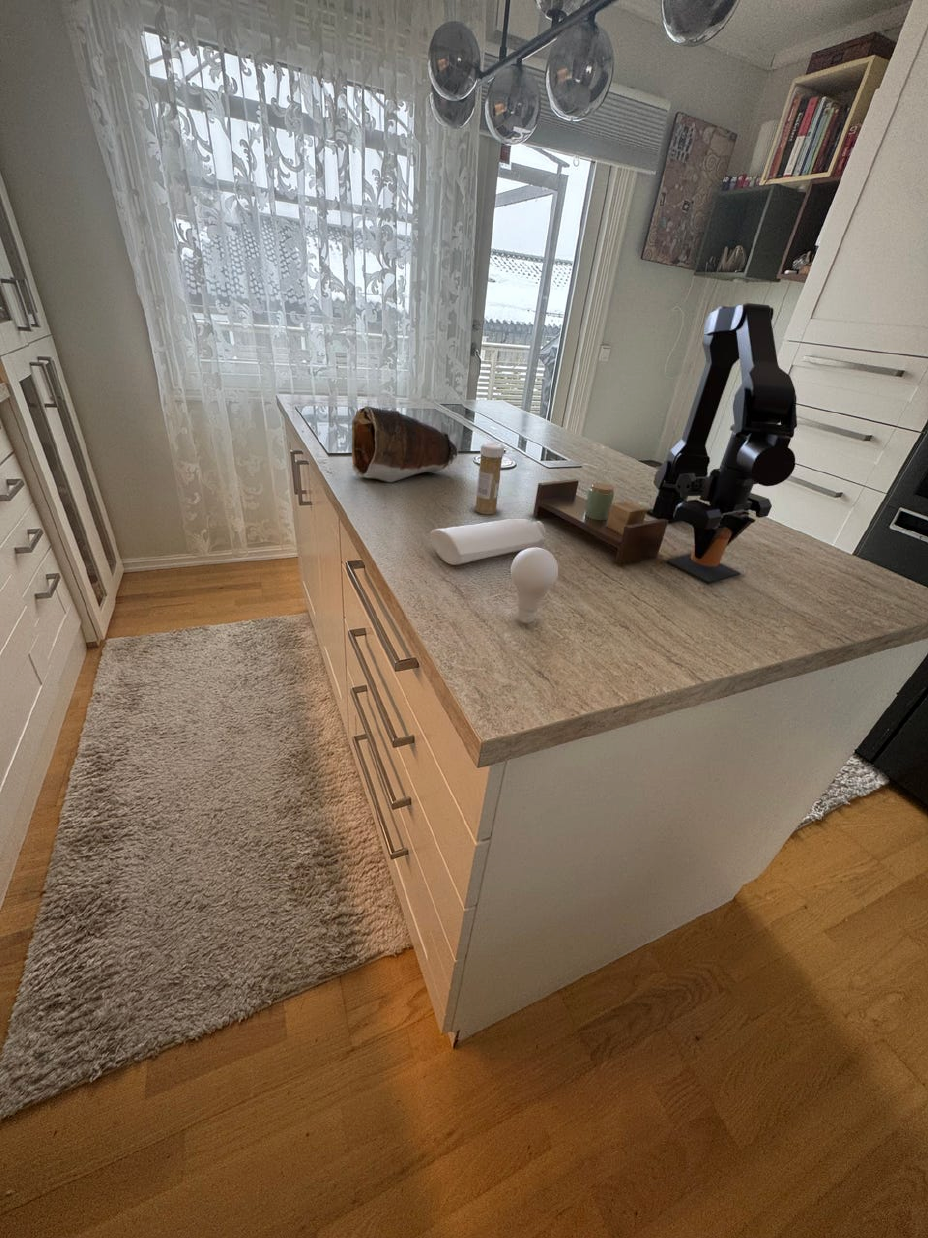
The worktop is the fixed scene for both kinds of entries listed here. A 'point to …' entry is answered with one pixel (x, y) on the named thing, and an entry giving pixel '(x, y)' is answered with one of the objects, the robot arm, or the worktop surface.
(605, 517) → the sage jar
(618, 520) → the oak block
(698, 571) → the black rubber mat
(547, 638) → the worktop surface
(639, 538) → the walnut shelf
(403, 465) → the clay pot
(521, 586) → the lightbulb
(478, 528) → the squeeze bottle
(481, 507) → the sprinkles bottle
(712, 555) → the copper tin
